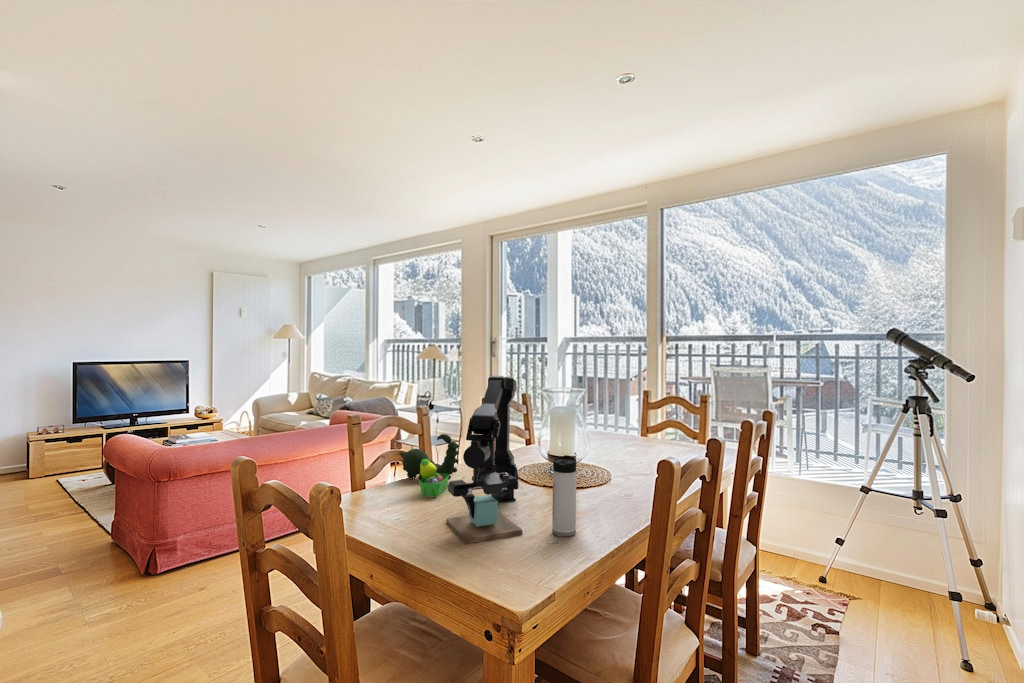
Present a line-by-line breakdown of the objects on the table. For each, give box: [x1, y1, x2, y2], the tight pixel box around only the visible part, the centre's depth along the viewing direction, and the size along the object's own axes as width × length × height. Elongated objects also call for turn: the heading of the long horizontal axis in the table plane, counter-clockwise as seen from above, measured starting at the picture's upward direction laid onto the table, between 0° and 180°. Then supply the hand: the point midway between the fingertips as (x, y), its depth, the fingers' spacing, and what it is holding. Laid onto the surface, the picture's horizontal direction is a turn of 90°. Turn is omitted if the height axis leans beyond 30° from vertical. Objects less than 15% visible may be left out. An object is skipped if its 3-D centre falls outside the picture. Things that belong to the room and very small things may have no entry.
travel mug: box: [551, 454, 577, 537], centre depth 134 cm, size 6×7×20 cm
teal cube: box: [468, 494, 499, 527], centre depth 136 cm, size 6×6×6 cm
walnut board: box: [445, 510, 523, 545], centre depth 136 cm, size 16×16×1 cm
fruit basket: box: [418, 459, 449, 498], centre depth 168 cm, size 11×9×11 cm
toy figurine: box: [398, 433, 460, 481], centre depth 183 cm, size 9×19×25 cm
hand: (483, 516), depth 136 cm, fingers closed on teal cube, 6 cm apart
